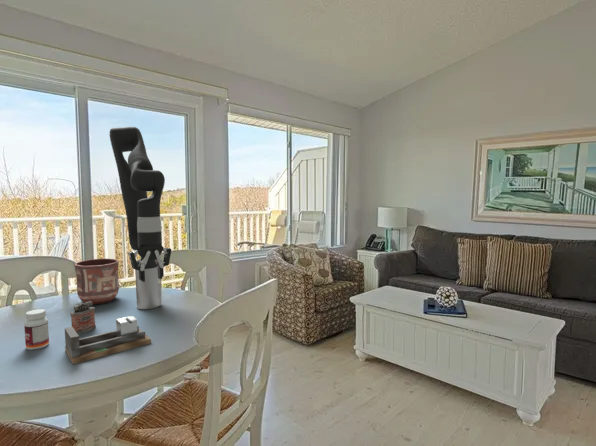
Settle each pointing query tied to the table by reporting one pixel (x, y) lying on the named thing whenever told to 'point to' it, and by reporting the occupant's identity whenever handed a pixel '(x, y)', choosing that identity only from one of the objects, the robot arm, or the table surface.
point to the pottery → (97, 280)
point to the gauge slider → (126, 326)
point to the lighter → (83, 318)
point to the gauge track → (101, 344)
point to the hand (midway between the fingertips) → (151, 279)
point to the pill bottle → (36, 329)
